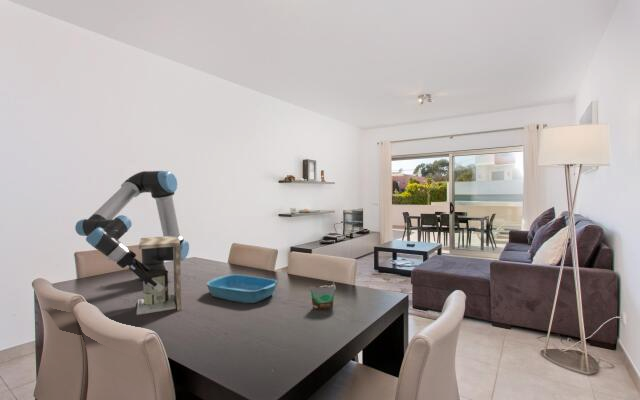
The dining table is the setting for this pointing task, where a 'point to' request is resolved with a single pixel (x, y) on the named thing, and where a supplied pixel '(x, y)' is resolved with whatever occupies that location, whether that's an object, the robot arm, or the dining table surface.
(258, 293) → the casserole dish
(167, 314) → the dining table surface
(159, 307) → the seat plate
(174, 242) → the shelf hood
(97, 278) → the dining table surface
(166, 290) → the coffee can
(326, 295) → the food container
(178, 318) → the dining table surface
